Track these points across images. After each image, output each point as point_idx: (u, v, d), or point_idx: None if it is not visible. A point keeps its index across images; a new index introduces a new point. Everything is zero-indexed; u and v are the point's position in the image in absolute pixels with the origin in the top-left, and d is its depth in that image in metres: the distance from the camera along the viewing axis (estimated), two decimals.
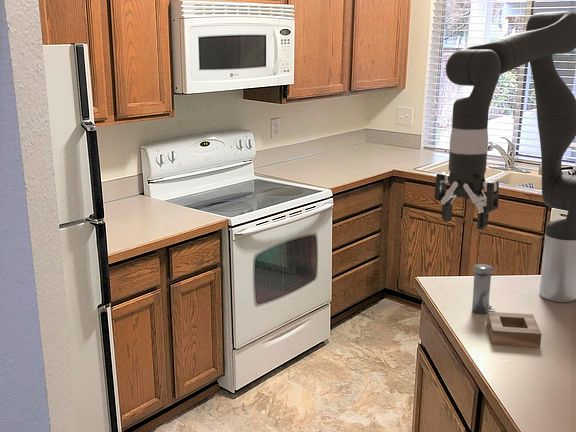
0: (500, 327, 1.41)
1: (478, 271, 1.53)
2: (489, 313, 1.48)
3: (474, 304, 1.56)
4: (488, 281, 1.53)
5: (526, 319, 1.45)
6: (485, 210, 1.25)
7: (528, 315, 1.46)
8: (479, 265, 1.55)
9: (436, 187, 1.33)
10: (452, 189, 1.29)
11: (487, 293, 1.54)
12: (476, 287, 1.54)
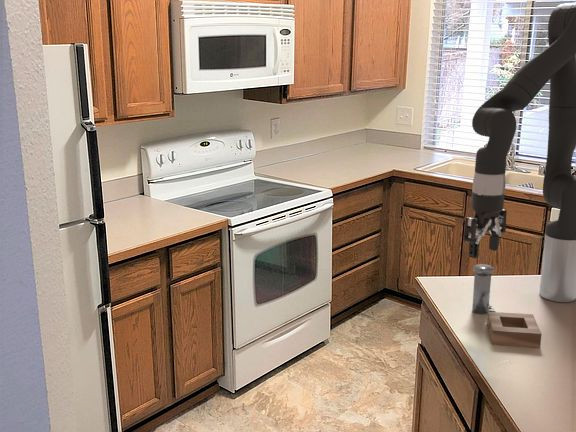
0: (500, 327, 1.41)
1: (478, 271, 1.53)
2: (489, 313, 1.48)
3: (474, 304, 1.56)
4: (488, 281, 1.53)
5: (526, 319, 1.45)
6: None
7: (528, 315, 1.46)
8: (479, 265, 1.56)
9: (473, 232, 1.46)
10: (486, 227, 1.48)
11: (487, 293, 1.54)
12: (476, 287, 1.54)
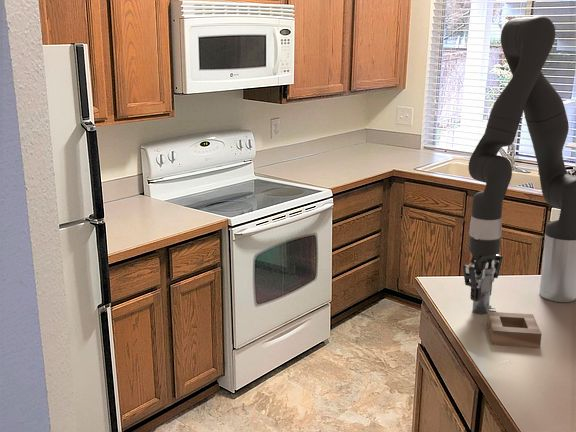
0: (500, 327, 1.41)
1: None
2: (489, 313, 1.48)
3: (474, 304, 1.56)
4: (489, 281, 1.53)
5: (526, 319, 1.45)
6: None
7: (528, 315, 1.46)
8: None
9: (473, 278, 1.50)
10: (484, 270, 1.52)
11: (488, 293, 1.54)
12: None
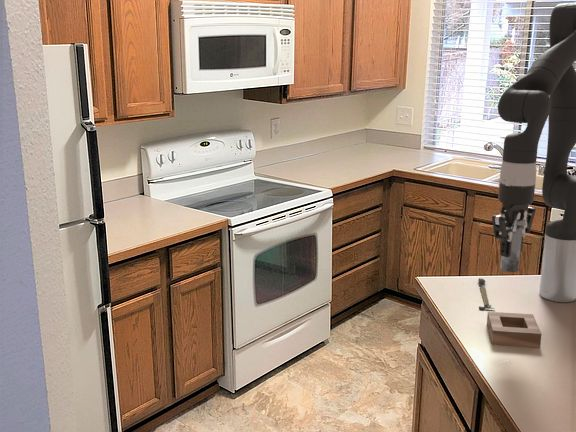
0: (500, 327, 1.41)
1: None
2: (489, 313, 1.48)
3: (503, 260, 1.41)
4: (519, 234, 1.38)
5: (526, 319, 1.45)
6: None
7: (528, 315, 1.46)
8: None
9: (503, 230, 1.35)
10: (516, 221, 1.37)
11: (518, 248, 1.39)
12: None
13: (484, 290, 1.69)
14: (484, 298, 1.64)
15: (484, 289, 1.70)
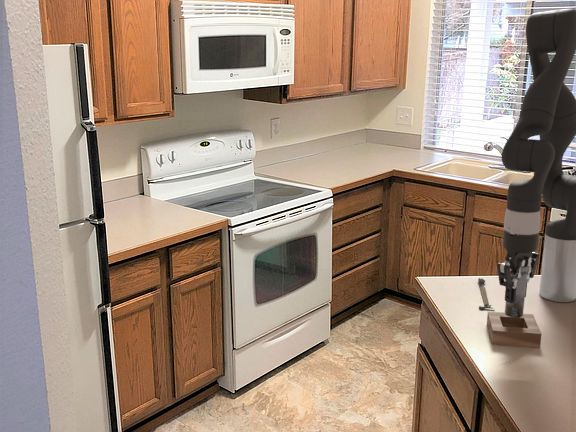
0: (500, 327, 1.41)
1: None
2: (489, 313, 1.48)
3: (508, 306, 1.41)
4: (524, 281, 1.38)
5: (526, 319, 1.45)
6: None
7: (528, 315, 1.46)
8: None
9: (508, 278, 1.35)
10: (521, 268, 1.37)
11: (522, 294, 1.39)
12: None
13: (484, 290, 1.69)
14: (484, 297, 1.64)
15: (484, 289, 1.70)
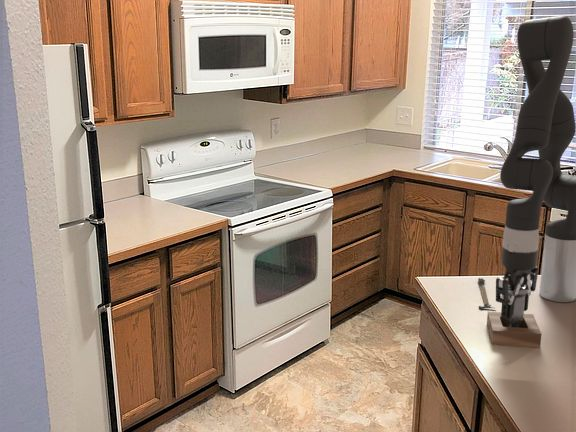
0: (500, 327, 1.41)
1: None
2: (489, 313, 1.48)
3: None
4: (522, 303, 1.40)
5: (526, 319, 1.45)
6: None
7: (528, 315, 1.46)
8: None
9: (506, 293, 1.36)
10: (519, 285, 1.38)
11: (521, 316, 1.41)
12: None
13: (484, 290, 1.70)
14: (484, 297, 1.65)
15: (484, 289, 1.70)
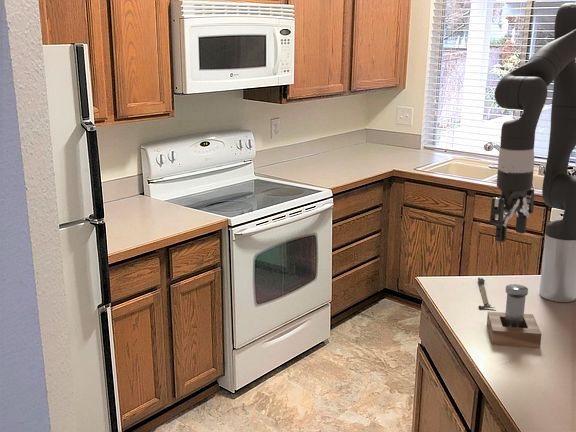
0: (500, 327, 1.41)
1: (512, 292, 1.39)
2: (489, 313, 1.48)
3: None
4: (522, 303, 1.40)
5: (526, 319, 1.45)
6: None
7: (528, 315, 1.46)
8: (512, 285, 1.42)
9: (501, 213, 1.34)
10: (514, 207, 1.37)
11: (521, 316, 1.41)
12: (509, 310, 1.41)
13: (483, 289, 1.70)
14: (484, 297, 1.65)
15: (483, 288, 1.70)
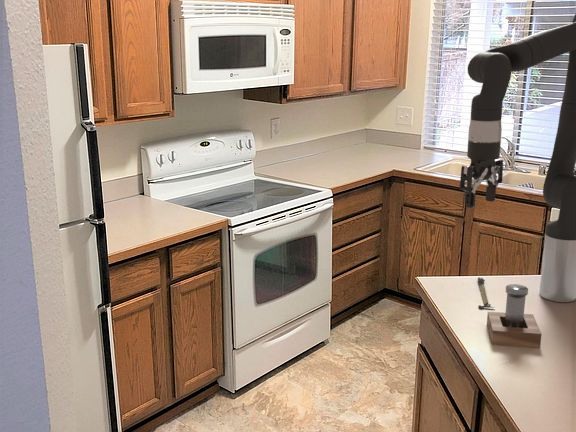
0: (500, 327, 1.41)
1: (512, 292, 1.39)
2: (489, 313, 1.48)
3: None
4: (522, 303, 1.40)
5: (526, 319, 1.45)
6: None
7: (528, 315, 1.46)
8: (512, 285, 1.42)
9: (469, 179, 1.44)
10: (482, 175, 1.47)
11: (521, 316, 1.41)
12: (509, 310, 1.41)
13: (483, 289, 1.70)
14: (484, 297, 1.65)
15: (483, 288, 1.71)
